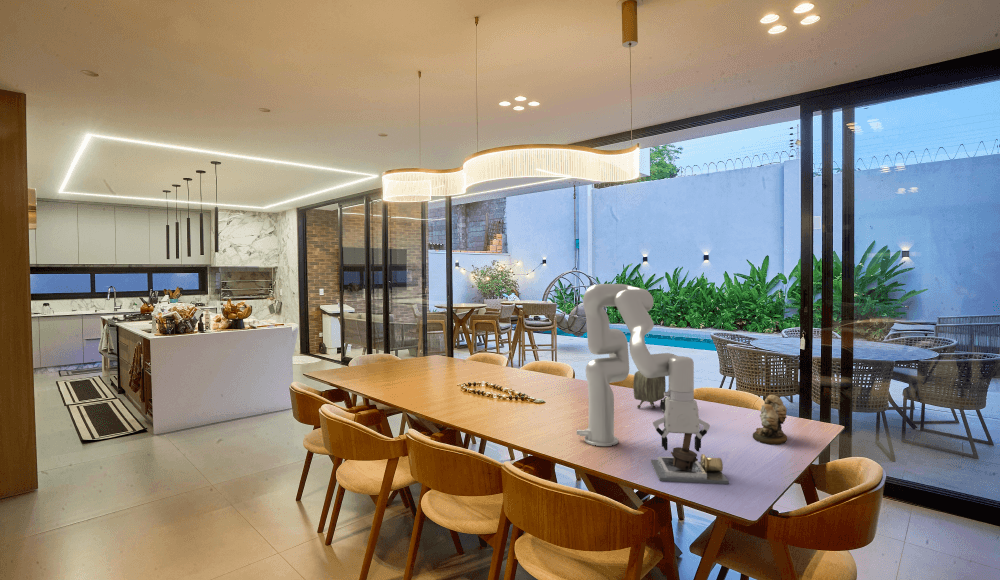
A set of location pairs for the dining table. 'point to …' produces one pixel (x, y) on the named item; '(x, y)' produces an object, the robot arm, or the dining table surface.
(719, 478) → the mounting plate
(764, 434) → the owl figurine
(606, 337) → the robot arm
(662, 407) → the pneumatic valve
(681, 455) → the industrial component
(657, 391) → the tabletop clock
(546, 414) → the dining table surface
